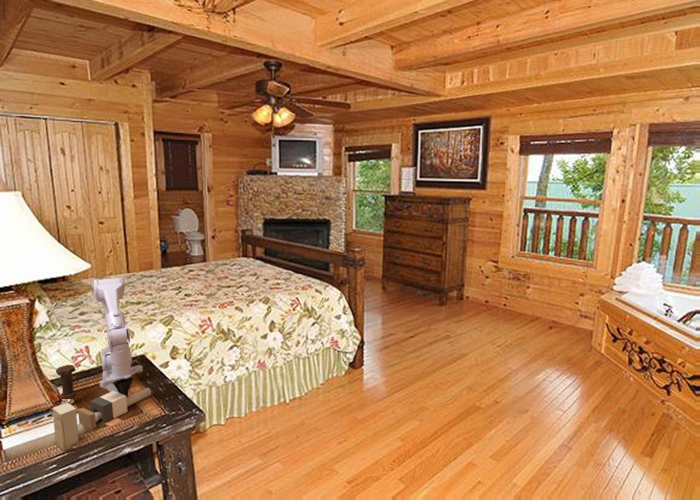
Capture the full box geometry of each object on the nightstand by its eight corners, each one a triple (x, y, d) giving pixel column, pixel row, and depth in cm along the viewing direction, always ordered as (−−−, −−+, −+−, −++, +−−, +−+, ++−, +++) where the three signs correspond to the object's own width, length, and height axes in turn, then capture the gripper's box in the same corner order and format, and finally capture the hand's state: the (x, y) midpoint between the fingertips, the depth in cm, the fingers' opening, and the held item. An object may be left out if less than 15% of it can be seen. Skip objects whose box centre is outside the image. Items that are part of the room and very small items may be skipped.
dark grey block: (92, 417, 140) (90, 401, 139) (101, 412, 142) (99, 397, 141) (104, 422, 136) (103, 406, 135) (113, 418, 139) (112, 402, 138)
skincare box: (55, 444, 127) (51, 407, 125) (71, 436, 131) (67, 401, 129) (64, 451, 123) (59, 414, 121) (80, 444, 127) (76, 408, 125)
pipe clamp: (65, 425, 137) (63, 409, 136) (137, 391, 159) (136, 376, 158) (93, 440, 129) (92, 422, 128) (165, 402, 152) (164, 387, 151)
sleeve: (101, 412, 142) (99, 397, 141) (115, 406, 147) (113, 390, 146) (113, 418, 139) (111, 402, 138) (127, 411, 143) (126, 395, 142)
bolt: (68, 412, 144) (64, 372, 142) (56, 410, 145) (52, 370, 143) (82, 403, 150) (78, 365, 148) (70, 401, 151) (66, 363, 149)
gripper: (107, 372, 135) (110, 410, 137) (147, 356, 148) (149, 391, 150) (94, 367, 138) (98, 404, 141) (134, 352, 151) (137, 386, 153)
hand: (123, 397), depth 145 cm, fingers closed
